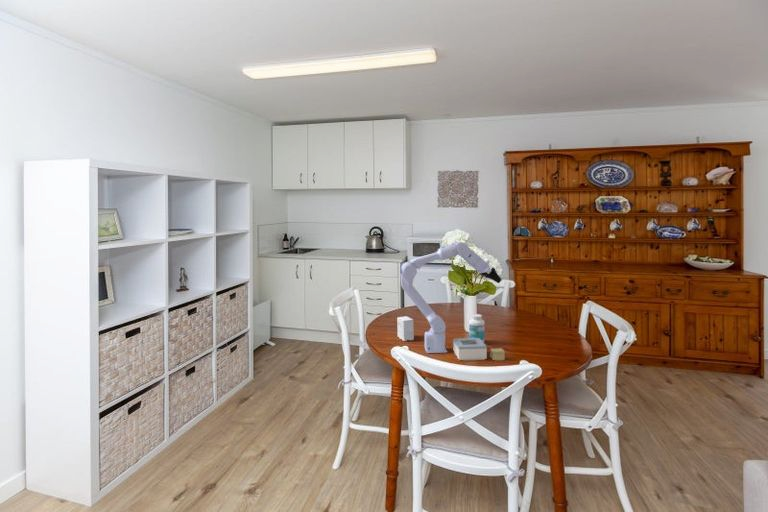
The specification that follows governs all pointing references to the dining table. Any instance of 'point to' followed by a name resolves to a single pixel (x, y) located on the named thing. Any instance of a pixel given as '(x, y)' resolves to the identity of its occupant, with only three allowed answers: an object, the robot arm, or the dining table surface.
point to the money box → (469, 349)
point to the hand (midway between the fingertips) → (497, 280)
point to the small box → (405, 328)
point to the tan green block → (497, 354)
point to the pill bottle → (477, 327)
